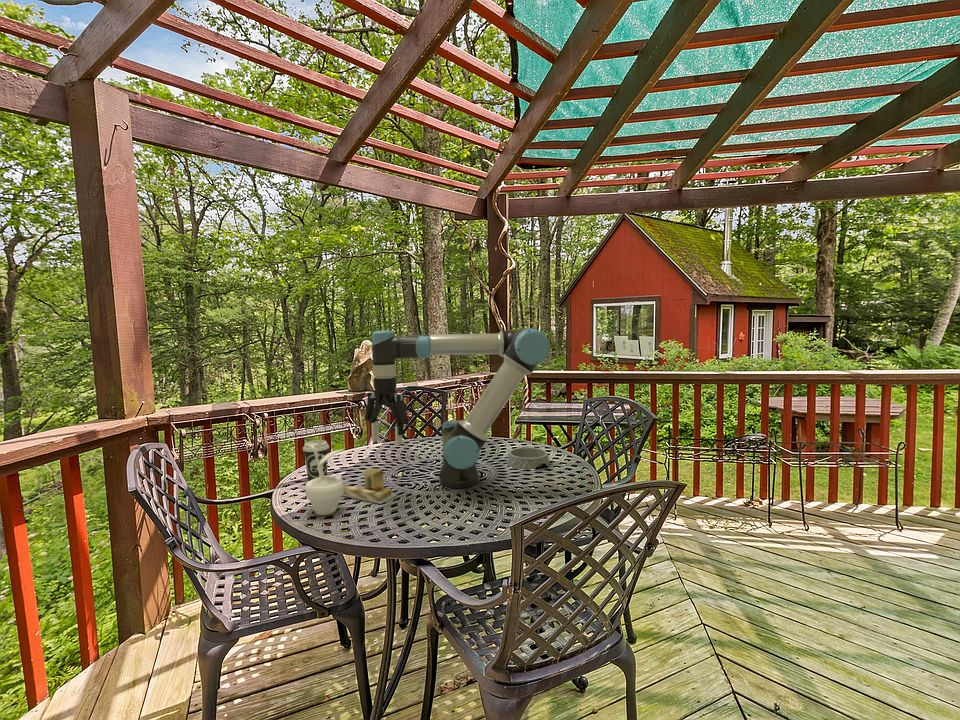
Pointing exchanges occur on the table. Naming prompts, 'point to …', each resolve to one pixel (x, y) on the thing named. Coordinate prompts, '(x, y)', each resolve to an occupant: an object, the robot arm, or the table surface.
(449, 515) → the table surface
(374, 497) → the beige flat bent piece
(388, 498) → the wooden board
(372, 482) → the sliding head
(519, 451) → the dog bowl
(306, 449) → the coffee cup
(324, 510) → the potted plant
